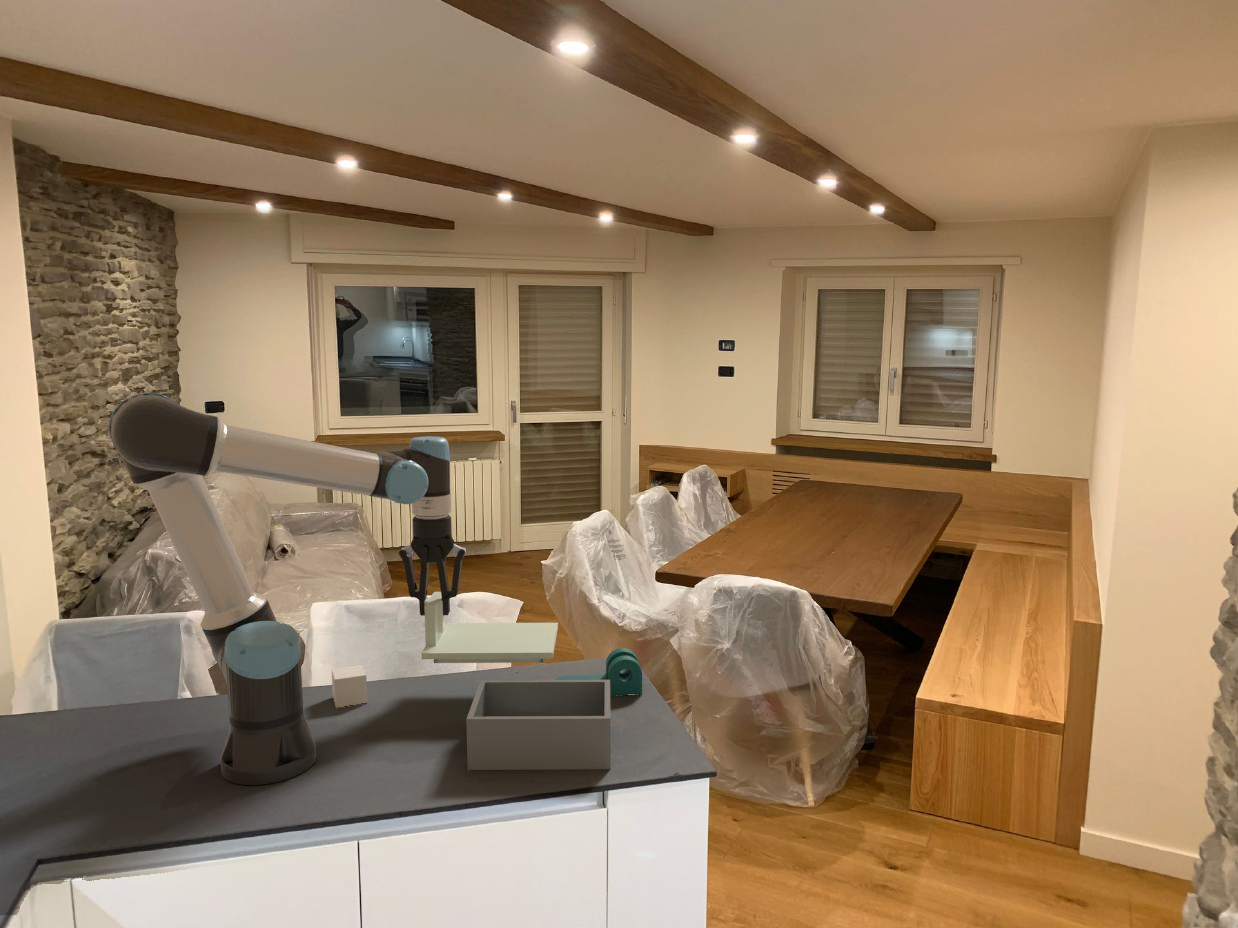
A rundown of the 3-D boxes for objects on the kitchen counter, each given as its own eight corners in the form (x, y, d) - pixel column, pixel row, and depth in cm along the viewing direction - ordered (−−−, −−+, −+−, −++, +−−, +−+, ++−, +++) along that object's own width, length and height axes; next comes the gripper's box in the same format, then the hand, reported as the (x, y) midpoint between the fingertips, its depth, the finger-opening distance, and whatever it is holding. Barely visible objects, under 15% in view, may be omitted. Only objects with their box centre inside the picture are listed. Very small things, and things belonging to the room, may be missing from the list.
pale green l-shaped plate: (421, 666, 172) (420, 612, 170) (439, 635, 189) (437, 586, 188) (552, 665, 172) (552, 612, 170) (557, 634, 190) (557, 585, 188)
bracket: (637, 683, 189) (638, 647, 188) (642, 695, 182) (642, 658, 181) (552, 686, 187) (551, 650, 186) (553, 699, 180) (552, 662, 179)
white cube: (336, 708, 176) (334, 679, 175) (332, 697, 181) (331, 669, 180) (367, 703, 178) (366, 674, 177) (363, 692, 183) (362, 664, 183)
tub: (467, 769, 151) (466, 719, 149) (481, 726, 168) (480, 680, 166) (610, 769, 151) (610, 718, 150) (610, 725, 168) (610, 679, 167)
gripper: (388, 519, 173) (393, 637, 176) (467, 519, 173) (470, 636, 176) (397, 511, 180) (401, 624, 183) (473, 511, 180) (475, 624, 184)
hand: (435, 630), depth 180 cm, fingers closed on pale green l-shaped plate, 2 cm apart
